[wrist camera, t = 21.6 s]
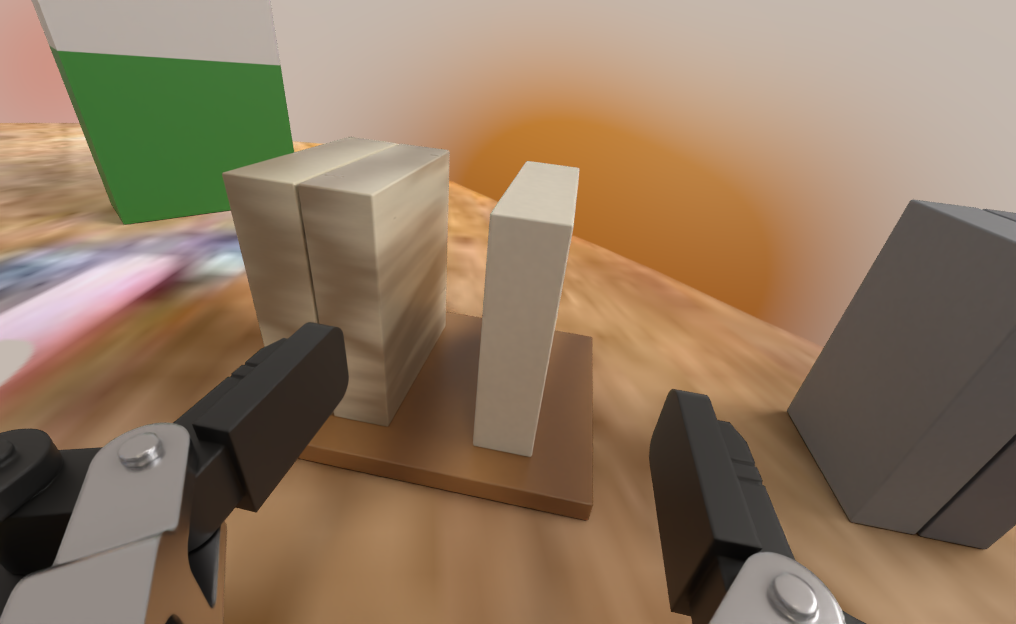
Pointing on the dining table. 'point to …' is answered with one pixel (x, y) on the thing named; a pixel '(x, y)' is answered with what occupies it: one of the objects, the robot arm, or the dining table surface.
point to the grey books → (924, 382)
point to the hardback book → (170, 96)
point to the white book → (522, 303)
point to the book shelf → (453, 428)
